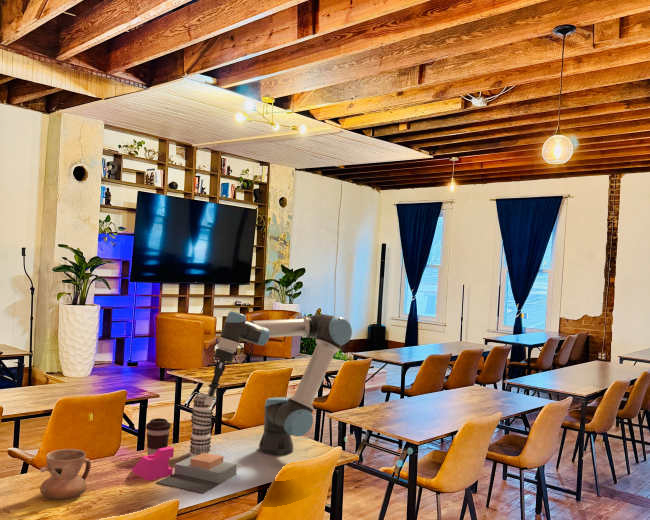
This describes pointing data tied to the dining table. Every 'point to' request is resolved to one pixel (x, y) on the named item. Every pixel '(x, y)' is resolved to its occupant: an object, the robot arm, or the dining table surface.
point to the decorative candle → (200, 426)
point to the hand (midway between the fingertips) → (208, 403)
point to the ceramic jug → (65, 474)
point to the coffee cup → (157, 434)
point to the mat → (188, 483)
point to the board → (206, 471)
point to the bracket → (155, 464)
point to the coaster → (206, 460)
